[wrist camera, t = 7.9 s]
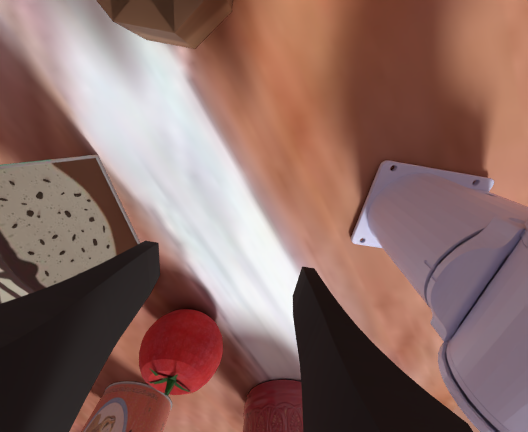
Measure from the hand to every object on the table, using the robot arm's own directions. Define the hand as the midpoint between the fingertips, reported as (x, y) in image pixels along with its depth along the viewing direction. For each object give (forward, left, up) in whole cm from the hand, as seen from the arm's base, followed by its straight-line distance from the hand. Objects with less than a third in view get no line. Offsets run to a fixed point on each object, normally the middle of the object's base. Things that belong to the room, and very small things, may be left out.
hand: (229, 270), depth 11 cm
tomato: (+5, +18, -10) cm, 21 cm away
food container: (+15, +4, -10) cm, 18 cm away
